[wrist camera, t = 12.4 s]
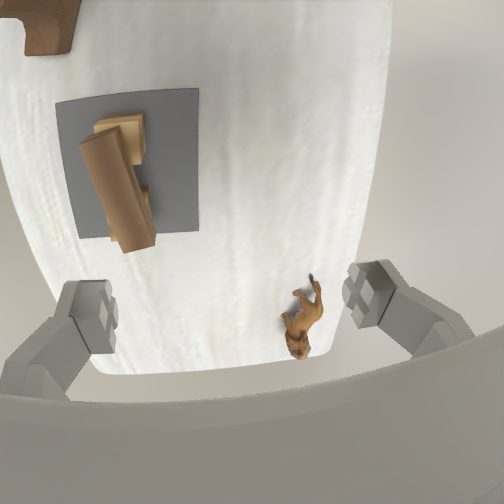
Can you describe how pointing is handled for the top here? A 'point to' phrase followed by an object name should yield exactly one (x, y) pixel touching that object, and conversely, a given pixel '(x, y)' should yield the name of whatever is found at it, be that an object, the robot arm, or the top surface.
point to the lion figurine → (303, 323)
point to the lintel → (118, 189)
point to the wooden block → (44, 23)
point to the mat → (154, 161)
